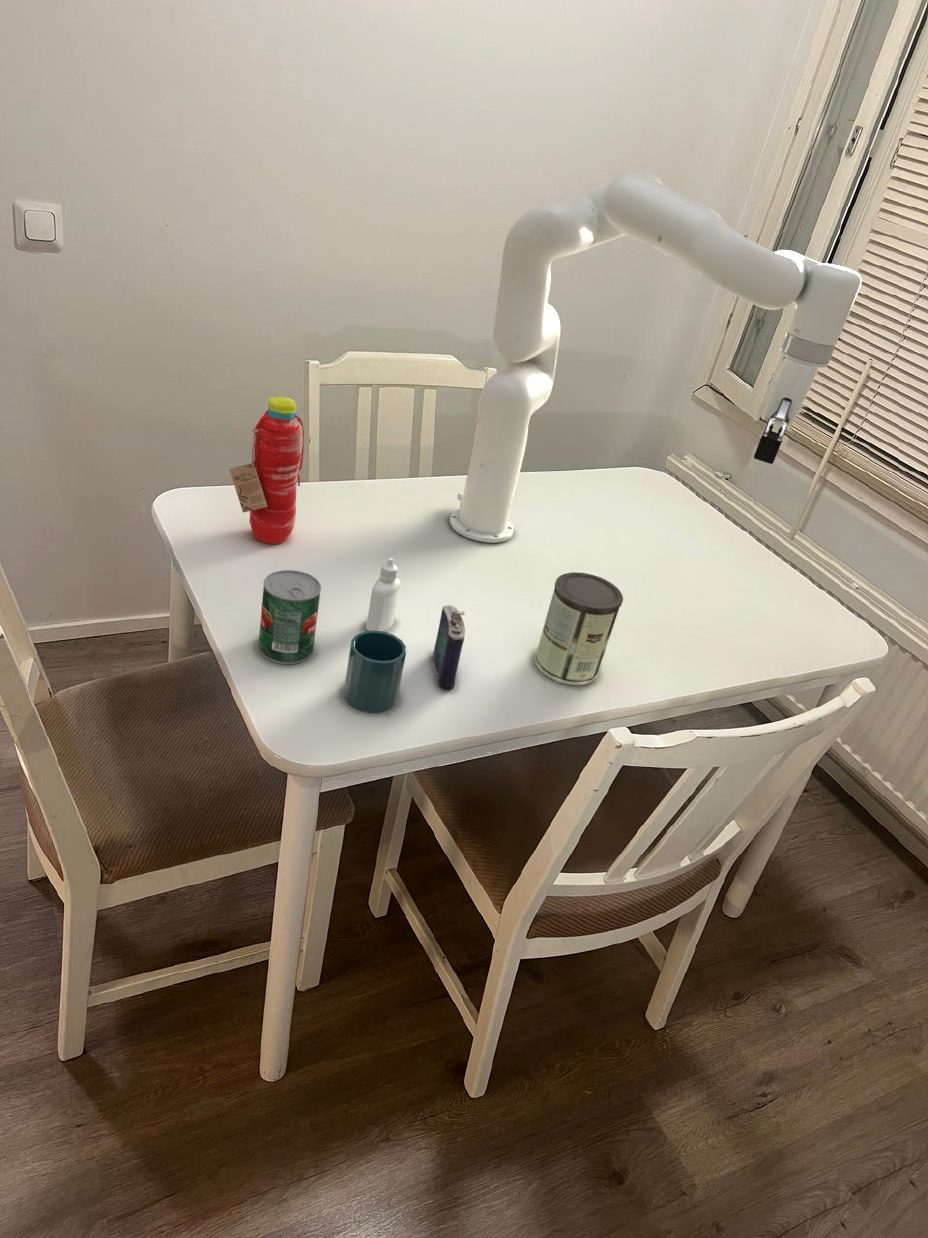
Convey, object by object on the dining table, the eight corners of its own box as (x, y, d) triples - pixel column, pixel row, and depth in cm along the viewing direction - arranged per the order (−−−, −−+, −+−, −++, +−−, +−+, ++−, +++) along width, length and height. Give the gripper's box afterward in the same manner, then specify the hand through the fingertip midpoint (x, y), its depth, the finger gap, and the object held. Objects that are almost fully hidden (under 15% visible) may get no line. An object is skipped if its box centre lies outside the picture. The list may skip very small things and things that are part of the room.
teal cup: (336, 683, 125) (343, 633, 120) (384, 676, 128) (393, 627, 124) (354, 716, 120) (363, 666, 115) (404, 708, 123) (414, 659, 119)
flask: (431, 652, 136) (443, 593, 130) (449, 654, 136) (463, 594, 130) (437, 690, 128) (451, 629, 122) (457, 691, 129) (472, 630, 123)
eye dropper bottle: (402, 629, 139) (414, 563, 133) (371, 636, 136) (383, 569, 130) (387, 614, 142) (398, 549, 136) (357, 621, 139) (367, 554, 132)
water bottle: (241, 554, 149) (250, 411, 136) (220, 532, 154) (228, 392, 140) (305, 544, 156) (320, 407, 143) (284, 523, 161) (296, 389, 147)
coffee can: (561, 639, 146) (583, 565, 138) (610, 672, 140) (636, 597, 133) (520, 658, 139) (541, 581, 131) (570, 694, 133) (595, 616, 126)
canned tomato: (250, 637, 130) (255, 572, 124) (301, 629, 134) (309, 566, 128) (268, 668, 125) (274, 603, 119) (321, 660, 129) (329, 596, 123)
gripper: (787, 333, 146) (750, 431, 155) (777, 353, 132) (737, 460, 141) (833, 346, 144) (793, 444, 153) (828, 368, 130) (783, 475, 139)
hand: (766, 452), depth 147 cm, fingers open, 9 cm apart
